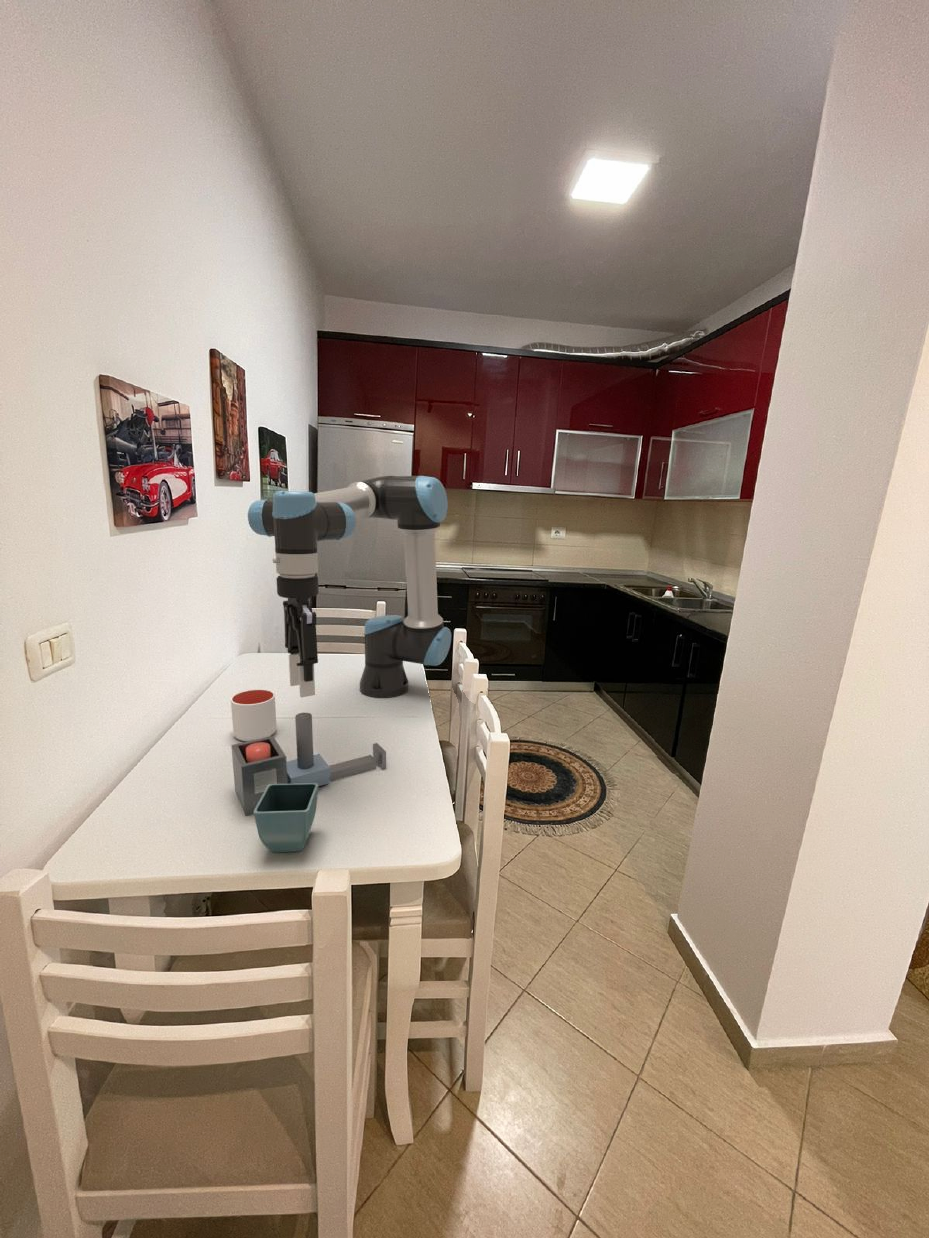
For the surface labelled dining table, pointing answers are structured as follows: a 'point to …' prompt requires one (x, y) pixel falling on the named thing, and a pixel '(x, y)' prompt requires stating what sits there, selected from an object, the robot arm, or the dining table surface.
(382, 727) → the dining table surface
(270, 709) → the cup
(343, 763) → the rail
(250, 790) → the open box
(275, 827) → the flower pot
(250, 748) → the button
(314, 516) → the robot arm
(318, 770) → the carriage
